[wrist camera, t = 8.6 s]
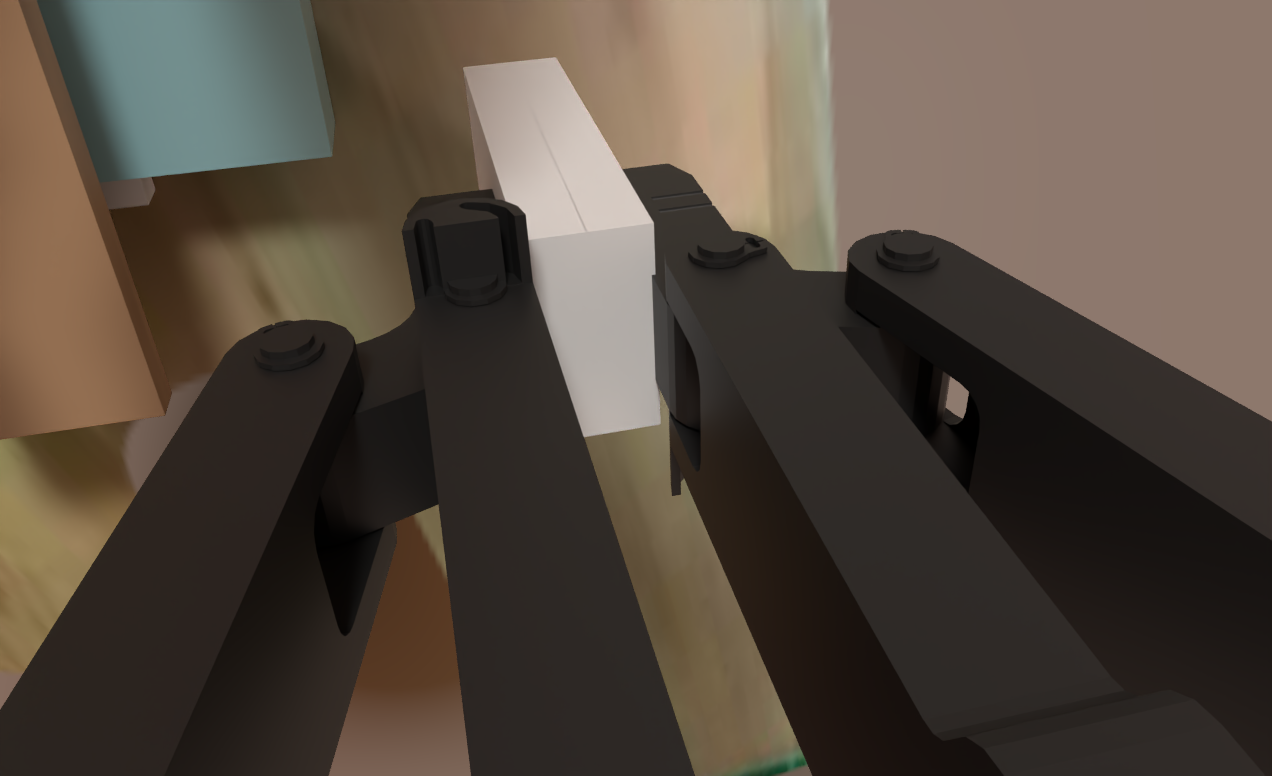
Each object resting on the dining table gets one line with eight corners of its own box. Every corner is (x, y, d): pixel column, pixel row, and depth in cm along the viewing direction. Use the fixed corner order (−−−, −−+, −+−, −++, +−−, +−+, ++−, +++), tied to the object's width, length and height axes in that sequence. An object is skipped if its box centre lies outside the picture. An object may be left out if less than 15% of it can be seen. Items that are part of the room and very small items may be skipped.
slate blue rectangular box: (-51, 164, 30) (-88, 203, 28) (-180, -142, 26) (-238, -127, 23) (335, 122, 32) (332, 156, 30) (274, -172, 28) (265, -161, 25)
